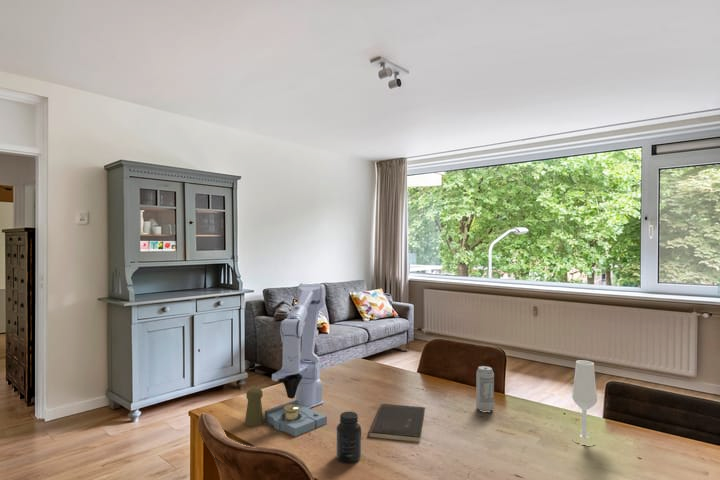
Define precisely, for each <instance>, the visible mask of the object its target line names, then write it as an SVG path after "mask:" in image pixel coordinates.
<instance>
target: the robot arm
mask: <svg viewBox="0 0 720 480" xmlns="http://www.w3.org/2000/svg"><path fill="white" fill-rule="evenodd" d="M326 289H327V288H326V286H325V285H324V283H321V284H319V283H318V284H317V283H315V284H313V283H300V284H299V285H298V286H297V292H296V295H297V298H298V300H297V303H296V304H294V305H293V306H292V307H291V309H290V311H289V313H288V315H287V317H286V318H285V319H284V320H281V322H280V326H279V334H280V338H281V343H282V367H281V369H279V370H278V371H276V372H274V373H272V374H271V380H272V381H273V382H278V381H280V380H281V382H282V385H283V386H284V388H285V392H286V397H287V398H288V399H295V400H297V401H298V404H300V405H302V406H304V407H307V408H309V409H311V408H313V407H317V406H320V405H323V404H324V401H323V383H322V380H321V379H320V376H321V359H320V357H319V356H318V355H317V354H316V353H315V347H316V339H317V330H318V319H319V314H320V310H321V309H322V308H324V307H325V304H326V303H325V302H326V296H327V295H326V294H327V293H326V291H327V290H326ZM302 335H303V336H302ZM301 337H302V340H301ZM301 341H302V342H301Z"/></svg>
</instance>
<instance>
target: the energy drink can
mask: <svg viewBox="0 0 720 480" xmlns="http://www.w3.org/2000/svg"><path fill="white" fill-rule="evenodd" d="M475 379H476V380H475V381H476V382H475V383H476V385H475V386H476V387H475V389H476V391H475V393H476V394H475V400H476V401H475V407H476V409H477V410H478V409H479V410H482V411H491V410H492V411H493V410H494V408H495V407H494V405H495V404H494V403H495V397H494V396H495V394H494V393H495V387H494V386H495V373H494V371H493V368H492V367H491V366H486V365H481V366H479V365H478V368H477V370H476V378H475ZM479 410H478V411H479Z"/></svg>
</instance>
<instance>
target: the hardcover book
mask: <svg viewBox="0 0 720 480" xmlns="http://www.w3.org/2000/svg"><path fill="white" fill-rule="evenodd" d="M425 411H426V407H425V406H424V407H423V406H414V405H413V406H412V405H404V404H403V405H402V404H393V403H380V405H379V407H378V410H377V411H376V414H375V416H374V418H373V421H372V423H371V426H370V427H369V430H368V432H367V438H369V437H370V438H377V439H388V440H398V441H405V442H414V443H415V442H416V443H419V442H420V438H422V437H421V436H422V431H423V424H424V419H425V418H424V417H425V413H426V412H425Z"/></svg>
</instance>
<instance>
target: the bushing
mask: <svg viewBox="0 0 720 480" xmlns="http://www.w3.org/2000/svg"><path fill="white" fill-rule="evenodd" d="M298 410H299V406H298V405H295V404H290V405H286V406H284V411H285V421H296V420H298Z"/></svg>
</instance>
